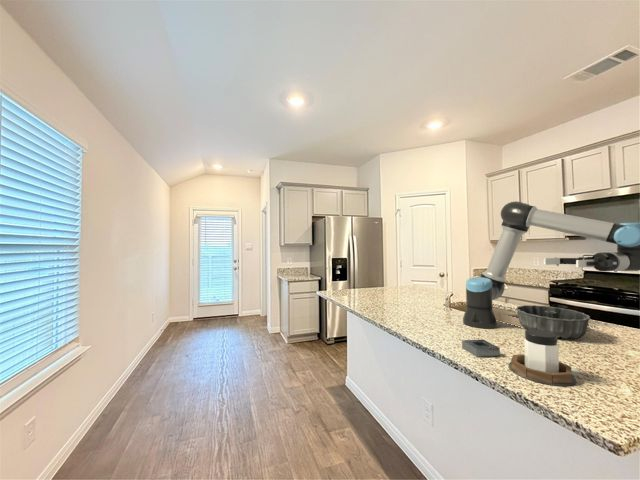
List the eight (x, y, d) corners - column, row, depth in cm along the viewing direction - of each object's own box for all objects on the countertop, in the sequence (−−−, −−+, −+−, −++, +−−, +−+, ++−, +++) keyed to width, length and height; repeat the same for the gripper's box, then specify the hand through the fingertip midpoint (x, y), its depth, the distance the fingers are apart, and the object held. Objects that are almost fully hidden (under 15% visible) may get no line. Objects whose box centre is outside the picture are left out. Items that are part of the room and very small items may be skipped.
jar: (540, 377, 85) (539, 338, 85) (518, 365, 93) (517, 330, 93) (566, 375, 86) (565, 336, 86) (542, 364, 94) (541, 328, 94)
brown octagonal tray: (496, 362, 97) (496, 354, 97) (541, 360, 98) (541, 352, 98) (538, 387, 80) (538, 377, 80) (592, 384, 81) (592, 375, 81)
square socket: (462, 347, 110) (462, 340, 110) (483, 347, 111) (483, 339, 111) (476, 357, 101) (476, 348, 101) (499, 356, 102) (499, 347, 102)
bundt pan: (607, 340, 118) (607, 317, 118) (558, 345, 112) (557, 321, 112) (545, 323, 143) (545, 303, 144) (503, 326, 138) (502, 306, 138)
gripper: (648, 274, 98) (593, 275, 97) (577, 268, 123) (533, 269, 122) (647, 253, 98) (593, 254, 97) (577, 251, 123) (533, 252, 122)
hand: (559, 262), depth 109 cm, fingers open, 13 cm apart
